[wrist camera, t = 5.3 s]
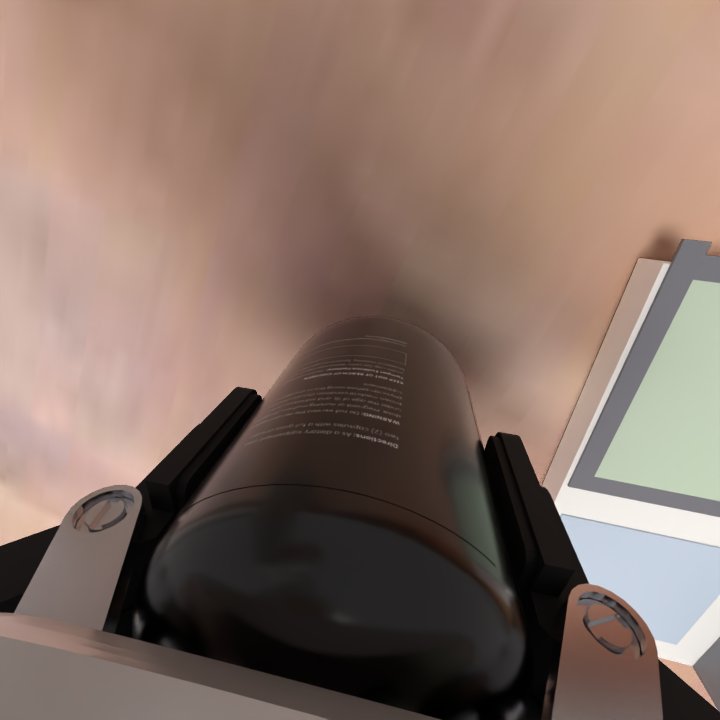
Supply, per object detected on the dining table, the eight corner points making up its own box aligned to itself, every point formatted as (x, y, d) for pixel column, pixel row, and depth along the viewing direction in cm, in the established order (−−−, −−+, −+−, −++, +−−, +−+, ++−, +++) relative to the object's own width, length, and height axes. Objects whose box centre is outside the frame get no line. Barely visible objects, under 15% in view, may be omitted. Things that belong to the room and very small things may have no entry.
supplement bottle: (271, 419, 15) (-135, 1021, 4) (331, 277, 12) (-798, 1278, 1) (413, 487, 15) (393, 1205, 4) (507, 366, 12) (1278, 1869, 1)
